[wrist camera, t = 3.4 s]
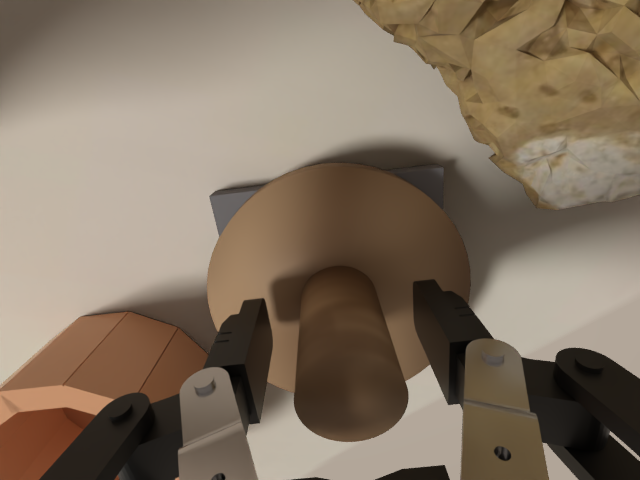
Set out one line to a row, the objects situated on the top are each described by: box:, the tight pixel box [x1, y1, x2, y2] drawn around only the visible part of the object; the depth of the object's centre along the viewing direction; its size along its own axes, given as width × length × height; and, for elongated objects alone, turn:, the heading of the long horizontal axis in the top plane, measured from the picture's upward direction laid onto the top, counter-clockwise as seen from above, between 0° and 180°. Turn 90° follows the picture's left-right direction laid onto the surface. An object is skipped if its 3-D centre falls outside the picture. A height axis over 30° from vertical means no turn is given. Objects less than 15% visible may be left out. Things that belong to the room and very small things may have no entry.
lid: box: [207, 163, 471, 442], centre depth 12 cm, size 10×10×6 cm
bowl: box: [0, 312, 208, 480], centre depth 16 cm, size 9×9×4 cm
